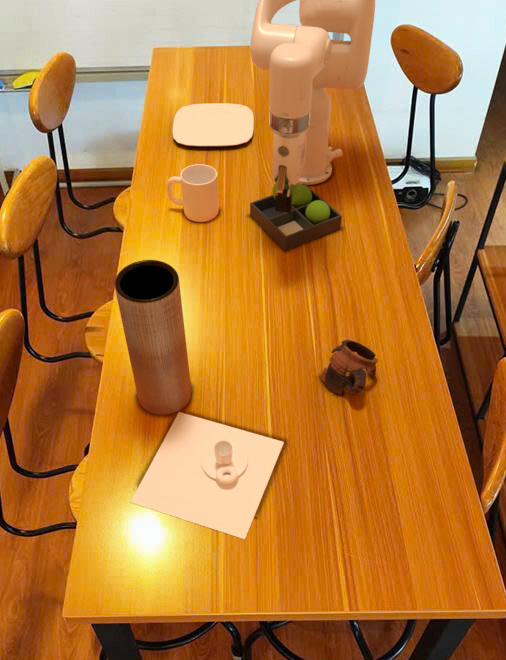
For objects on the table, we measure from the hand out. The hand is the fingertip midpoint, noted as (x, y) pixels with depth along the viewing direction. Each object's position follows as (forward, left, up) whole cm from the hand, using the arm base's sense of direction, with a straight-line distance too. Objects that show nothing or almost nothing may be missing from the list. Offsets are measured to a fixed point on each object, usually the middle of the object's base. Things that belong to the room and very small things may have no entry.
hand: (286, 200), depth 140 cm
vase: (+40, +21, -15) cm, 48 cm away
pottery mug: (+9, +36, -15) cm, 40 cm away
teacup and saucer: (+41, +40, -15) cm, 59 cm away
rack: (-9, -10, -15) cm, 20 cm away
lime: (0, 0, +2) cm, 2 cm away
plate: (-13, -56, -15) cm, 59 cm away
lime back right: (-13, -6, -12) cm, 18 cm away
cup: (+9, -26, -15) cm, 31 cm away
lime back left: (-13, -13, -12) cm, 22 cm away
